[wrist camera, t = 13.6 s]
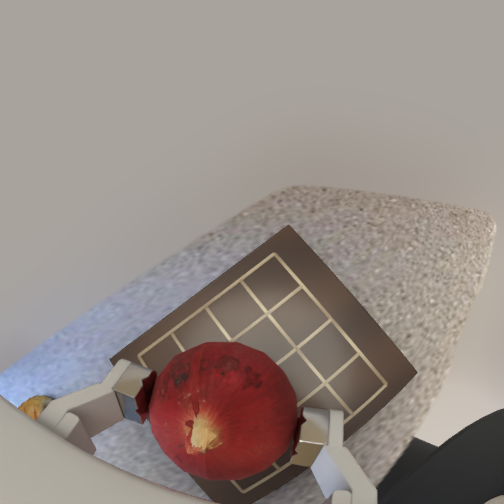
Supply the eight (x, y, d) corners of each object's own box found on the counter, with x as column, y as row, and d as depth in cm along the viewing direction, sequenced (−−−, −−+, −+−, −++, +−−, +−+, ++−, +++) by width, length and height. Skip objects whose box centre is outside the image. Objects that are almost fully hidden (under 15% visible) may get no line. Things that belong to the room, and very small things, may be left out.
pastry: (32, 460, 23) (12, 463, 20) (12, 411, 26) (-8, 411, 22) (78, 443, 24) (57, 448, 21) (54, 389, 27) (32, 388, 23)
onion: (164, 373, 15) (76, 370, 8) (260, 328, 16) (244, 291, 8) (211, 468, 13) (159, 535, 6) (312, 424, 14) (343, 474, 6)
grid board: (411, 372, 25) (418, 372, 24) (229, 510, 21) (227, 516, 20) (288, 230, 31) (288, 223, 30) (116, 359, 28) (108, 359, 26)
